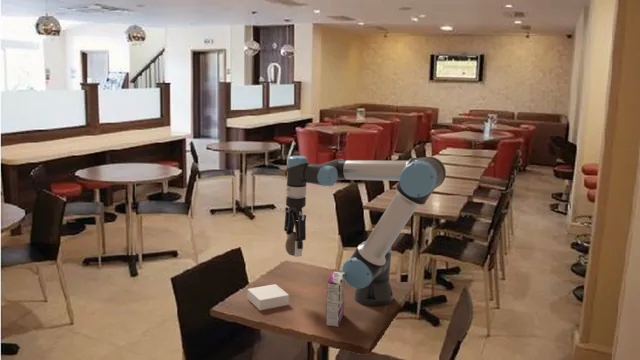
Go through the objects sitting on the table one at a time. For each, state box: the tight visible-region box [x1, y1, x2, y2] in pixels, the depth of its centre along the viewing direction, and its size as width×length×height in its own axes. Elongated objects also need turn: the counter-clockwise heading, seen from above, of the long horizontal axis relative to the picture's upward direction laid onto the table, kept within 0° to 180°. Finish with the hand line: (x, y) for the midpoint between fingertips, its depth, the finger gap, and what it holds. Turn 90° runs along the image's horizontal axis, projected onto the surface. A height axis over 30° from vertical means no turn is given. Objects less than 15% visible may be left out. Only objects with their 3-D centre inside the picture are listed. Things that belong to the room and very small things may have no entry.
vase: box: [284, 231, 304, 257], centre depth 226 cm, size 7×7×9 cm
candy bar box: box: [325, 270, 346, 328], centre depth 207 cm, size 11×5×16 cm, turn 169°
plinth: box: [246, 283, 290, 311], centre depth 222 cm, size 12×12×4 cm
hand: (293, 253), depth 227 cm, fingers closed on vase, 7 cm apart
